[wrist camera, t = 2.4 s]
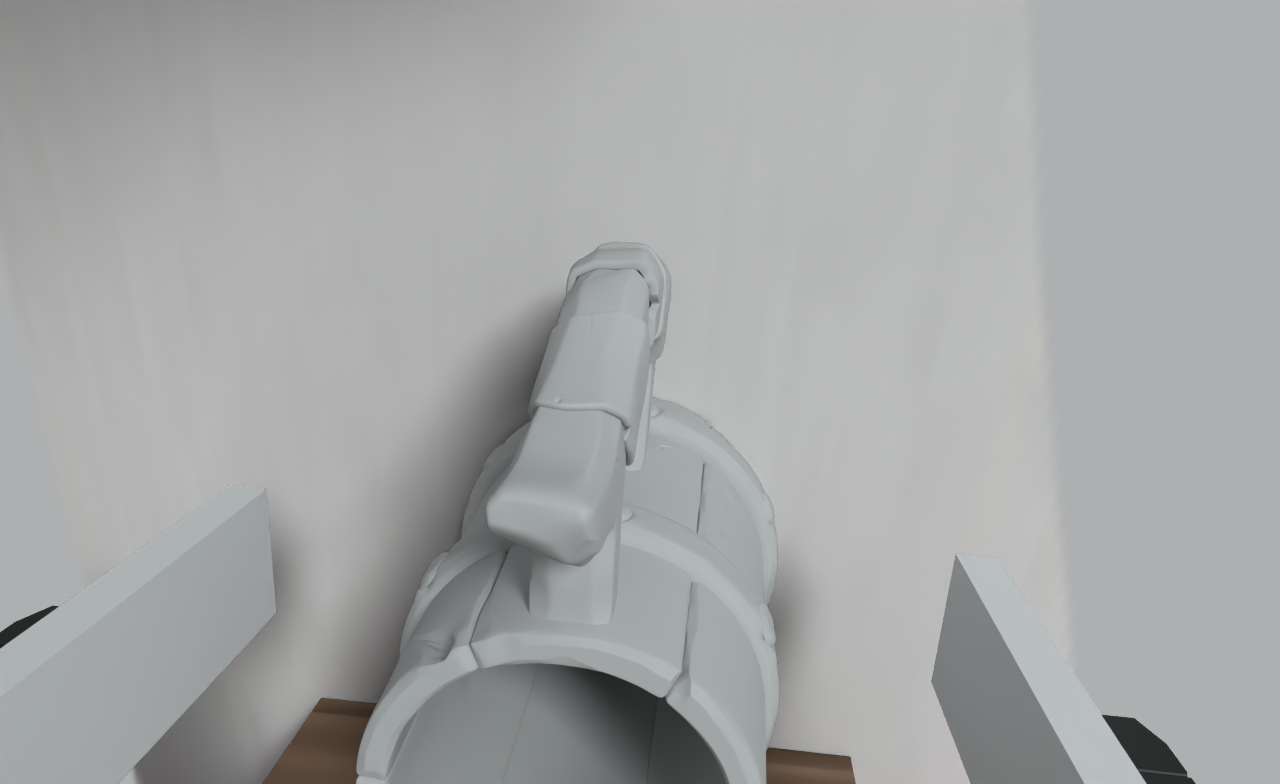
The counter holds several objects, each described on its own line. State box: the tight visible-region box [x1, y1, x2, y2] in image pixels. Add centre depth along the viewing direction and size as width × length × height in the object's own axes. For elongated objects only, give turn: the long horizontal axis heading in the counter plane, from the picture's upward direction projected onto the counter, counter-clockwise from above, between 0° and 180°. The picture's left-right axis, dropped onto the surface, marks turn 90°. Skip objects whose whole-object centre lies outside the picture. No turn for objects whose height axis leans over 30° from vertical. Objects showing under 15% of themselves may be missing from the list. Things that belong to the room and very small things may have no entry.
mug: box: [356, 242, 779, 784], centre depth 16 cm, size 8×12×12 cm, turn 177°
